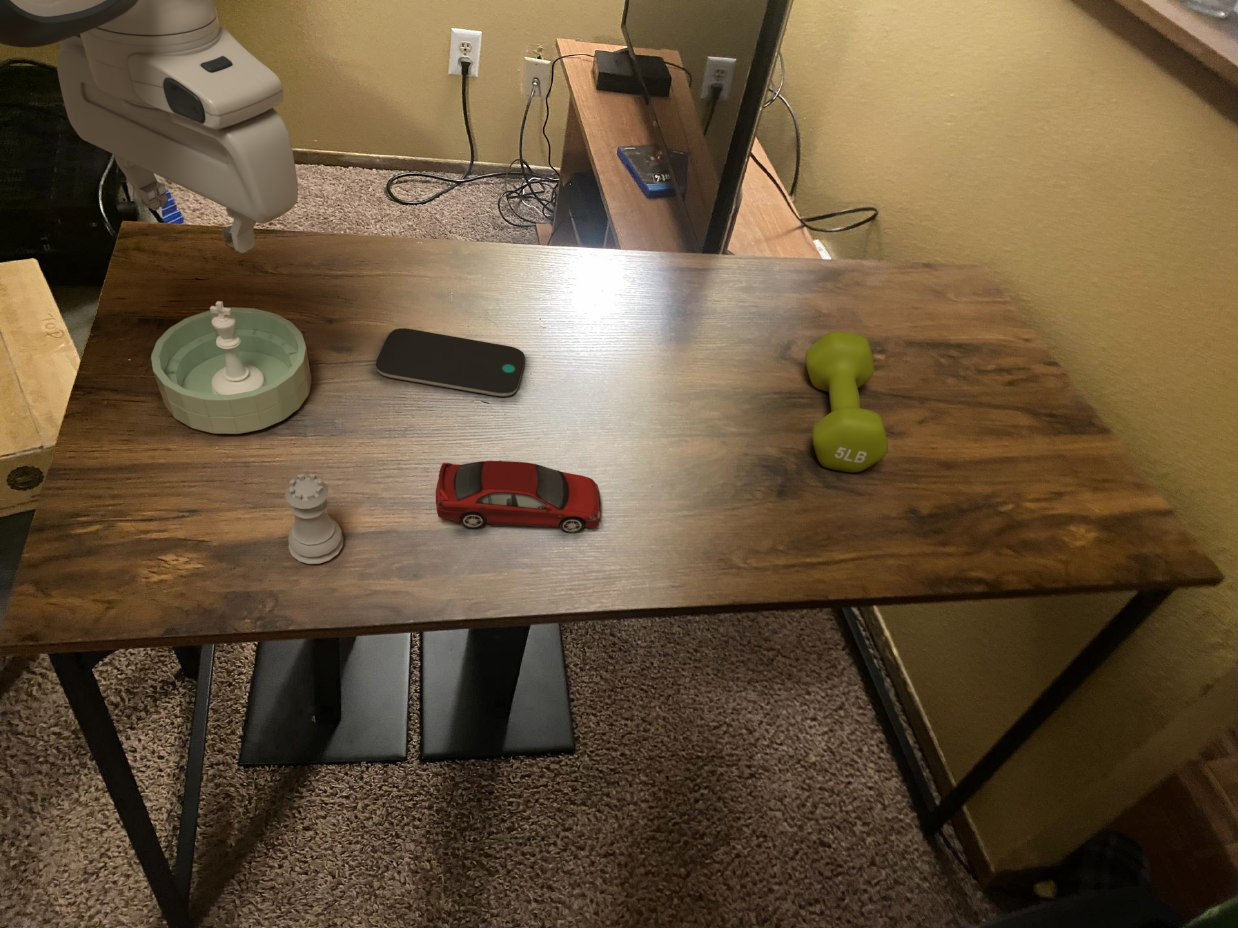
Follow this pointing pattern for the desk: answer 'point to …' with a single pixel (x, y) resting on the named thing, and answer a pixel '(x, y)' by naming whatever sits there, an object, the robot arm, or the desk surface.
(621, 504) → the desk surface
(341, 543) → the rook chess piece
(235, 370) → the chess piece
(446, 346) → the smartphone
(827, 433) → the dumbbell
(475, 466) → the toy car
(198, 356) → the bowl
